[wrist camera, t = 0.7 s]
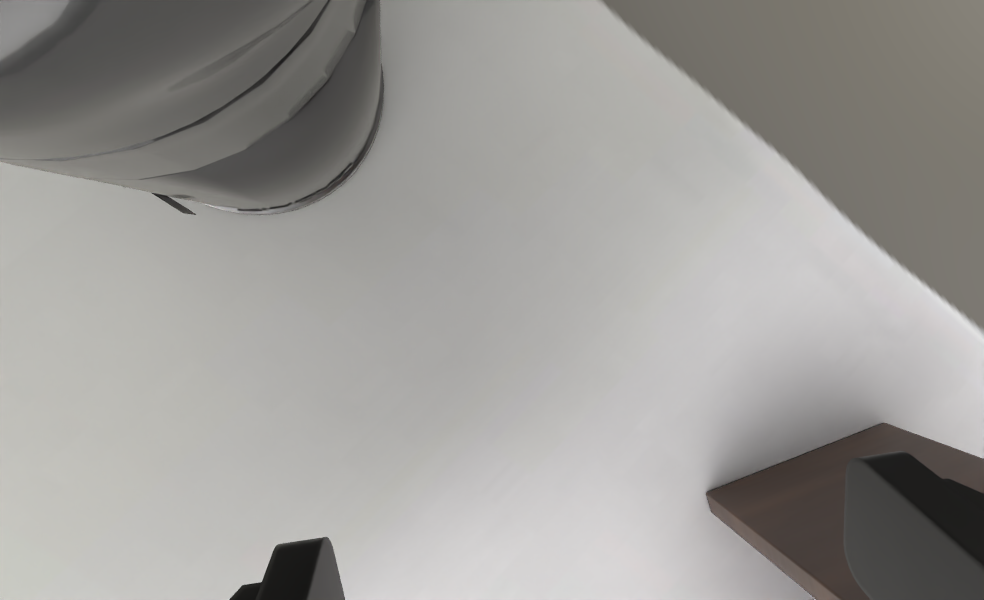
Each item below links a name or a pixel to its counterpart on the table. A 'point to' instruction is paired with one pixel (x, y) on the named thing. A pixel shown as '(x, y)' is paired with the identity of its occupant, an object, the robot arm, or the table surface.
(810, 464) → the walnut shelf
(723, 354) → the table surface
